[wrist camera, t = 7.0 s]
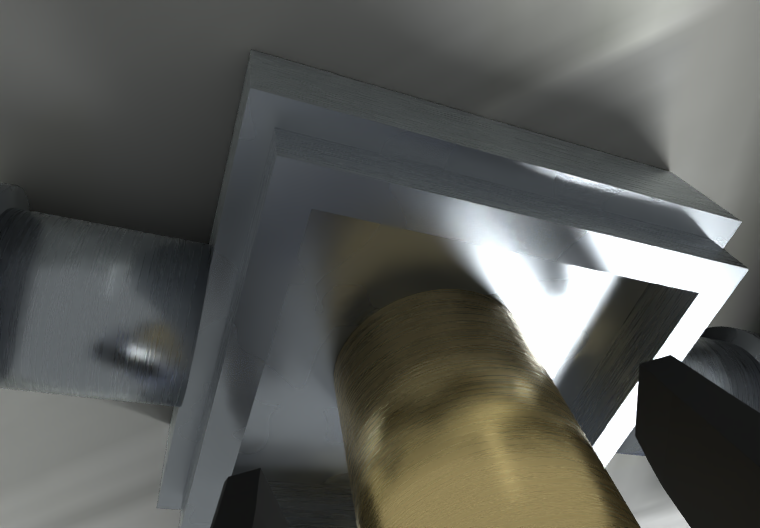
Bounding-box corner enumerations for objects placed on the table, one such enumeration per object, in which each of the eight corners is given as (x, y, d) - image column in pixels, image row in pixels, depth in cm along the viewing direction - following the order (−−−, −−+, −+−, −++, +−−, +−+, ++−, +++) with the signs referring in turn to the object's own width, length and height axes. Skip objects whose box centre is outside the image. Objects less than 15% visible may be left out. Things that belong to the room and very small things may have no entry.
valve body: (795, 208, 16) (941, 297, 12) (591, 489, 21) (655, 605, 17) (4, -23, 10) (-123, 25, 7) (-7, 440, 15) (-82, 599, 12)
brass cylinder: (459, 452, 15) (567, 749, 10) (301, 415, 13) (331, 749, 8) (562, 323, 13) (756, 603, 8) (393, 261, 11) (505, 565, 6)
